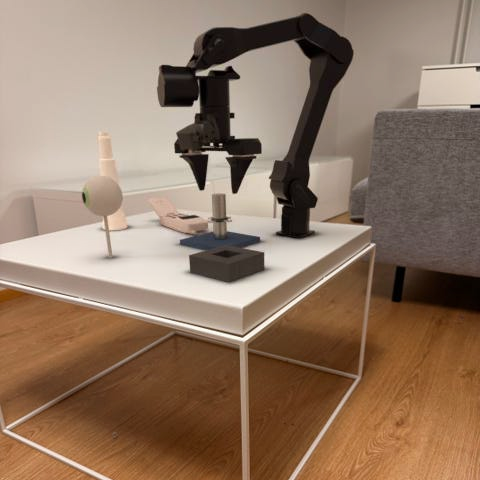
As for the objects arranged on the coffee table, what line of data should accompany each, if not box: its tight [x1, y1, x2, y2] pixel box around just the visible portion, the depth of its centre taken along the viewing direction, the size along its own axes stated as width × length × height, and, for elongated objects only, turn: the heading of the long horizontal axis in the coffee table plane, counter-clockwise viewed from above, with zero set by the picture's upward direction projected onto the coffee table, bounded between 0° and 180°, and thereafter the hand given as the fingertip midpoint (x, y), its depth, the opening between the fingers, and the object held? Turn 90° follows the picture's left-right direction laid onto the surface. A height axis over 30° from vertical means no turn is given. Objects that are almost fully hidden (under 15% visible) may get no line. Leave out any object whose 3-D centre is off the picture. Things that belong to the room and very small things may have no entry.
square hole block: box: [188, 245, 265, 283], centre depth 79 cm, size 9×9×3 cm
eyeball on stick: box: [81, 175, 124, 259], centre depth 86 cm, size 7×7×15 cm
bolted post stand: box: [207, 192, 233, 240], centre depth 96 cm, size 6×6×9 cm
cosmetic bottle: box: [97, 131, 128, 231], centre depth 111 cm, size 6×6×22 cm
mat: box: [179, 230, 261, 251], centre depth 98 cm, size 12×12×1 cm
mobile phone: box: [146, 195, 209, 236], centre depth 114 cm, size 6×6×25 cm
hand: (217, 192), depth 94 cm, fingers open, 9 cm apart
